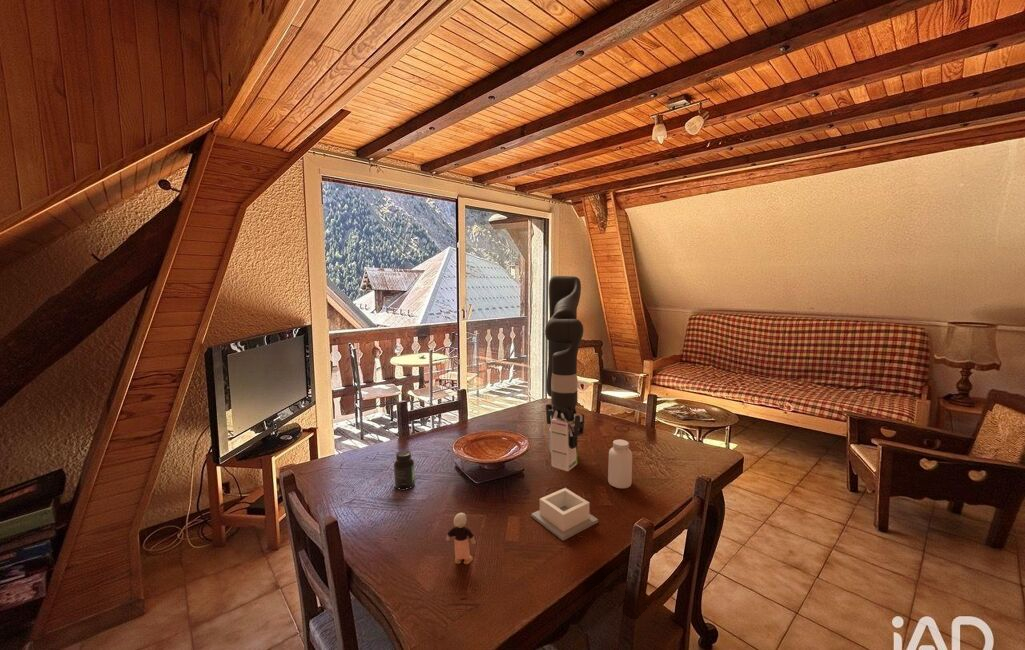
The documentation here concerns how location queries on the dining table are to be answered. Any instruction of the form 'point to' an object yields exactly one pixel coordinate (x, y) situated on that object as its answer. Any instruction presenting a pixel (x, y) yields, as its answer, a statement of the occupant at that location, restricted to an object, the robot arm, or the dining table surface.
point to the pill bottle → (620, 465)
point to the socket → (564, 514)
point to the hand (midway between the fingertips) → (564, 443)
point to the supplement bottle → (404, 470)
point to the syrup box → (562, 446)
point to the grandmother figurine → (461, 539)
